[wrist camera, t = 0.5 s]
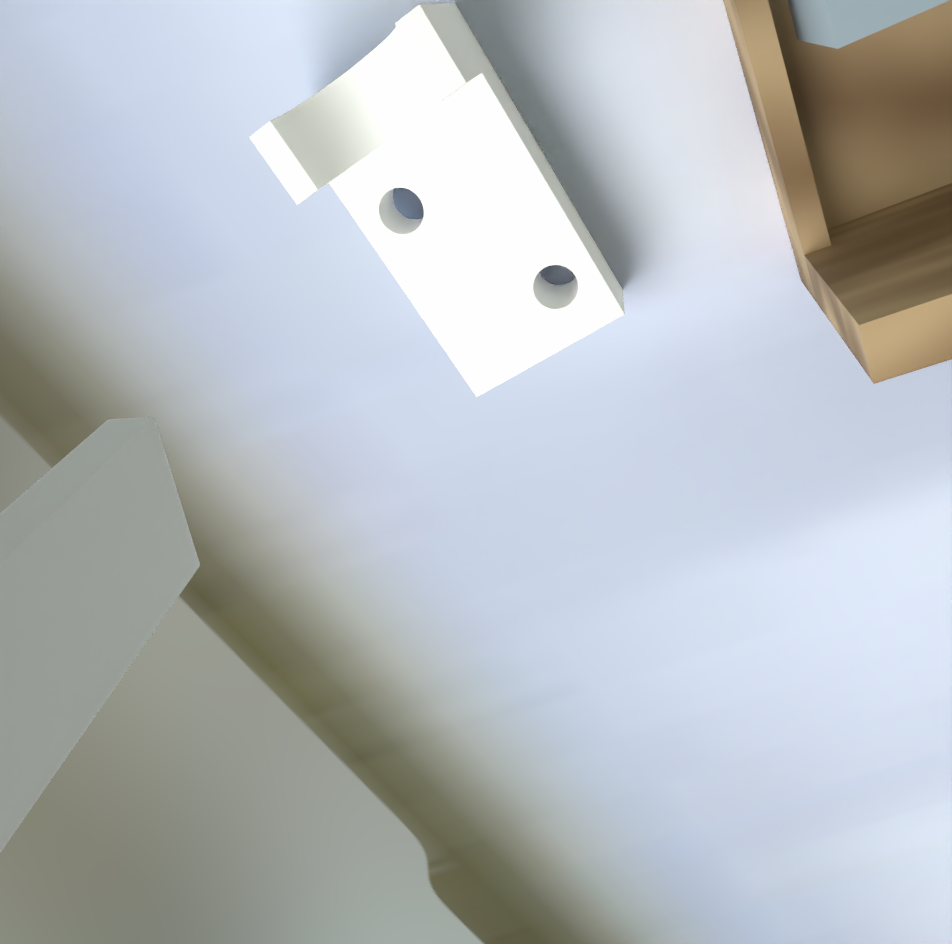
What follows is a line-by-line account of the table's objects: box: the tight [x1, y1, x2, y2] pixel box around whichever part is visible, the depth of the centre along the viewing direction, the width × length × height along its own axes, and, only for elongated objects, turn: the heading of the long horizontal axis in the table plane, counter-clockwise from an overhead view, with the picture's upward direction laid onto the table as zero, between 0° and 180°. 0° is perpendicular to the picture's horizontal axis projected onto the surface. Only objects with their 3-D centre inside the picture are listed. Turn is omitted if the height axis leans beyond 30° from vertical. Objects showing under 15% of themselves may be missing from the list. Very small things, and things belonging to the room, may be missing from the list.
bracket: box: [249, 3, 625, 397], centre depth 33 cm, size 13×7×8 cm, turn 33°
